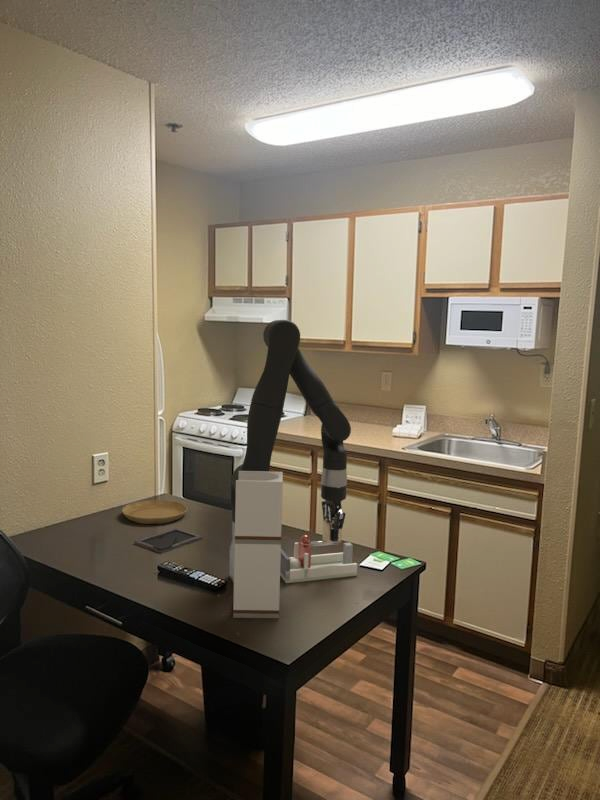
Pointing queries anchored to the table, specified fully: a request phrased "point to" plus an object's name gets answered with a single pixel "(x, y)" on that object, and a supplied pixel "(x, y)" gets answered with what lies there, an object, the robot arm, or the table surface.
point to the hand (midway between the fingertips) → (332, 538)
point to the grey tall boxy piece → (257, 544)
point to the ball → (295, 564)
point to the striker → (317, 542)
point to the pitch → (319, 565)
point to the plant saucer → (154, 511)
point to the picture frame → (168, 540)
